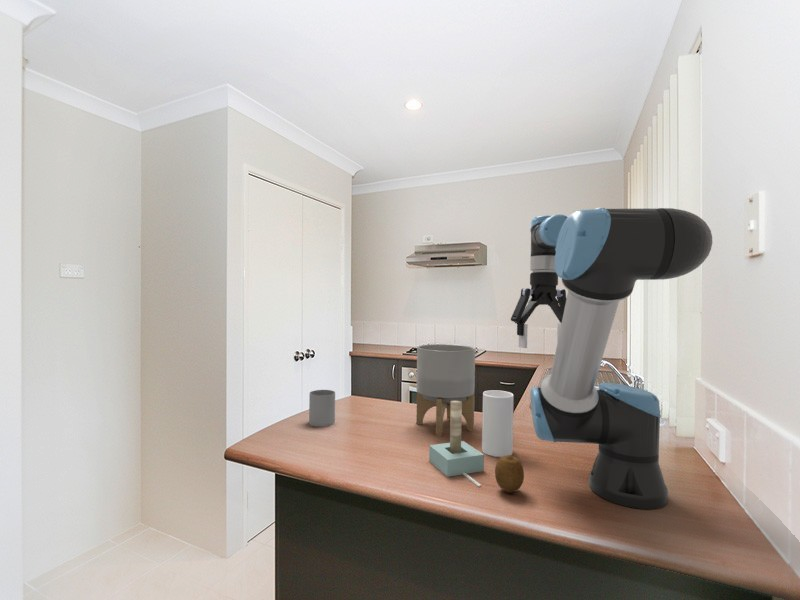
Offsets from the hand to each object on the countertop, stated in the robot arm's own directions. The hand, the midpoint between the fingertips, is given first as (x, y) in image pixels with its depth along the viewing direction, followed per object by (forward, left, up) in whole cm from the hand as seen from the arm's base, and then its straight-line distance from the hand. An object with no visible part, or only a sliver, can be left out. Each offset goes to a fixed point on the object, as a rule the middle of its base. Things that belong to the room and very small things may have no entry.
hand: (542, 346), depth 117 cm
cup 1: (+43, +54, -29) cm, 75 cm away
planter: (+26, +17, -29) cm, 42 cm away
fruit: (-19, +25, -29) cm, 42 cm away
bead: (-3, +29, -29) cm, 41 cm away
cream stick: (-11, +30, -29) cm, 43 cm away
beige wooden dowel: (-3, +29, -29) cm, 41 cm away
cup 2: (+2, +13, -29) cm, 32 cm away
